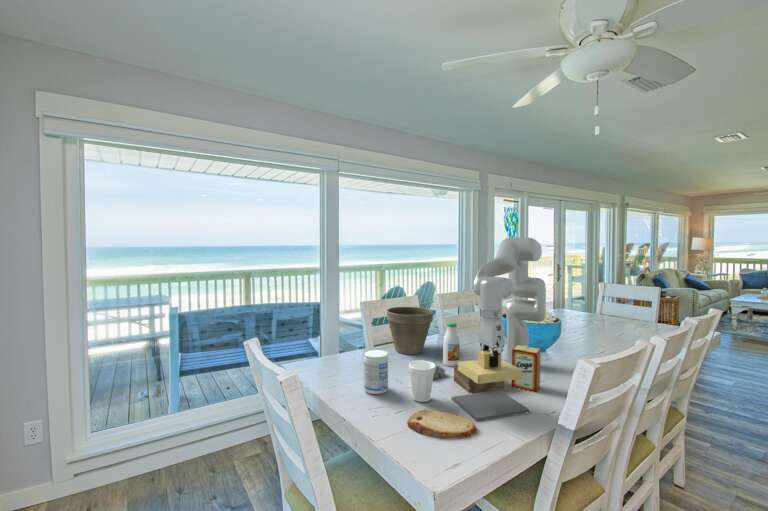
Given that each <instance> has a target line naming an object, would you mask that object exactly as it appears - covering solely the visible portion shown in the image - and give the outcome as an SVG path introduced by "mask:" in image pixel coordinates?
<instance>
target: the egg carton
mask: <svg viewBox="0 0 768 511" xmlns="http://www.w3.org/2000/svg"><path fill="white" fill-rule="evenodd" d="M434 364H435V365H436V369H435V372H434V375H433V379H439V377H441V378H444V377H445V373H446V371H447V369H444V368H443V367H441V366H440V365H438V364H437V363H434Z"/></svg>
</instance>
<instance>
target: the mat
mask: <svg viewBox="0 0 768 511" xmlns="http://www.w3.org/2000/svg"><path fill="white" fill-rule="evenodd" d="M451 400H452V402H454V403H455V404H456V405H457V406H458V407H460V408H461V409H462V410H463V411H464V412H467V413H466V414H467V415H468V416H470V417H471V418H472V419H473V420H475V422H480V421H481V422H482V421H486V420H491V419H492V420H493V419H498V418H504V417H509V416H515V414H517V415H520V414H521V415H522V414H526V412H528V413H530V409H529V408H528V407H526V406H525V405H524V404H522V403H520V402H519V401H517V400H516V399H514V398H513V397H511V396H510V395H508V394H507V393H505V392H503V391H502V390H501V389H497V390H496V389H495V390H490V391H489V390H488V391H484V392H483V391H481V392H474V393H468V394H461V395H456V396H455V395H454V396H451Z"/></svg>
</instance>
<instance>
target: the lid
mask: <svg viewBox="0 0 768 511" xmlns="http://www.w3.org/2000/svg"><path fill="white" fill-rule="evenodd" d="M495 350H496V349H494V351H495ZM490 356H491V352H490V349H489V350H487V351H481V350H479V351H478V350H477V359H476V360H465V361H459V362H458V371H460V372H461V373H463V374H464V375H466V376H467V377H469V378H470V379H472V380H473V381H474V382H476V383H477V384H482V383H490V382H499V381H504V382H507V381H512V380H516V379H522V370H521V369H519V368H517V367H515V366H513V365H511V364H509V363H507V362H505V361H504V359H502V352H501V353H500V354H499V356H498V367H492V368H491V367H489V361H490Z"/></svg>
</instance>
